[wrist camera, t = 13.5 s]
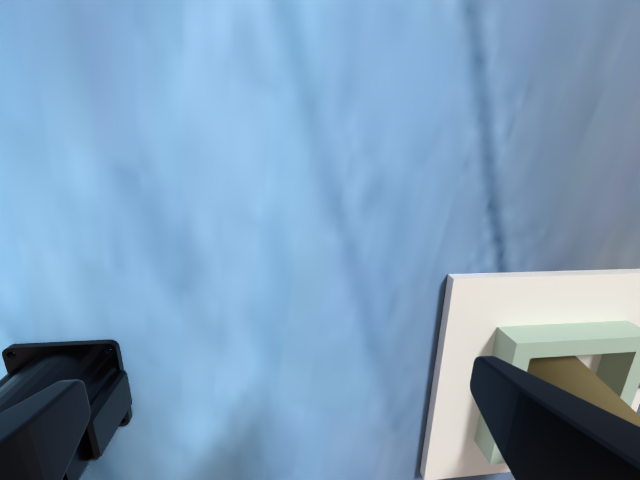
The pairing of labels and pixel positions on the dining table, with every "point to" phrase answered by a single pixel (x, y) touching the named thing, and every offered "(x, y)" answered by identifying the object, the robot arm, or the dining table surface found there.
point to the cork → (581, 384)
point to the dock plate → (524, 349)
